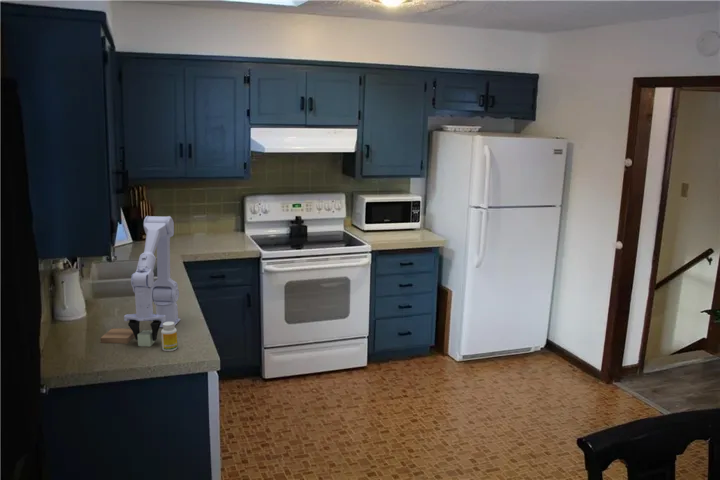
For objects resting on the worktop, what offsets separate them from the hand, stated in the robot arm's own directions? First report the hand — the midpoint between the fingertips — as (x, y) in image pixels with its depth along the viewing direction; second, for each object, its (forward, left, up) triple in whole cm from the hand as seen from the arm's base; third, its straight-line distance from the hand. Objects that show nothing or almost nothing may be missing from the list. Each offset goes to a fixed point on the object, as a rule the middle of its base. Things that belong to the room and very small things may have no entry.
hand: (146, 339), depth 227 cm
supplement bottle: (+4, +10, -2) cm, 11 cm away
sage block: (0, 0, -2) cm, 2 cm away
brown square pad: (-5, -12, -2) cm, 13 cm away
